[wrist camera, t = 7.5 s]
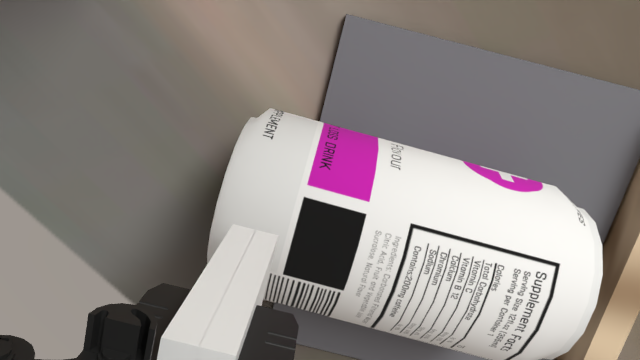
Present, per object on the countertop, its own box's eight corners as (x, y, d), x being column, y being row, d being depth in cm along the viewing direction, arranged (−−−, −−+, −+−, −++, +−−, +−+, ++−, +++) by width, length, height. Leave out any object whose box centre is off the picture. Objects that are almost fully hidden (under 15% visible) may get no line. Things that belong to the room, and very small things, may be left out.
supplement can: (255, 70, 20) (622, 172, 20) (259, 140, 27) (522, 212, 28) (188, 276, 17) (602, 386, 18) (214, 288, 25) (500, 363, 26)
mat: (346, 14, 25) (346, 14, 24) (660, 96, 25) (665, 96, 24) (267, 332, 29) (265, 336, 29) (533, 398, 29) (535, 402, 29)
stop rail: (664, 97, 25) (697, 102, 23) (695, 105, 25) (731, 110, 23) (536, 398, 29) (553, 428, 27) (562, 405, 29) (581, 435, 27)
